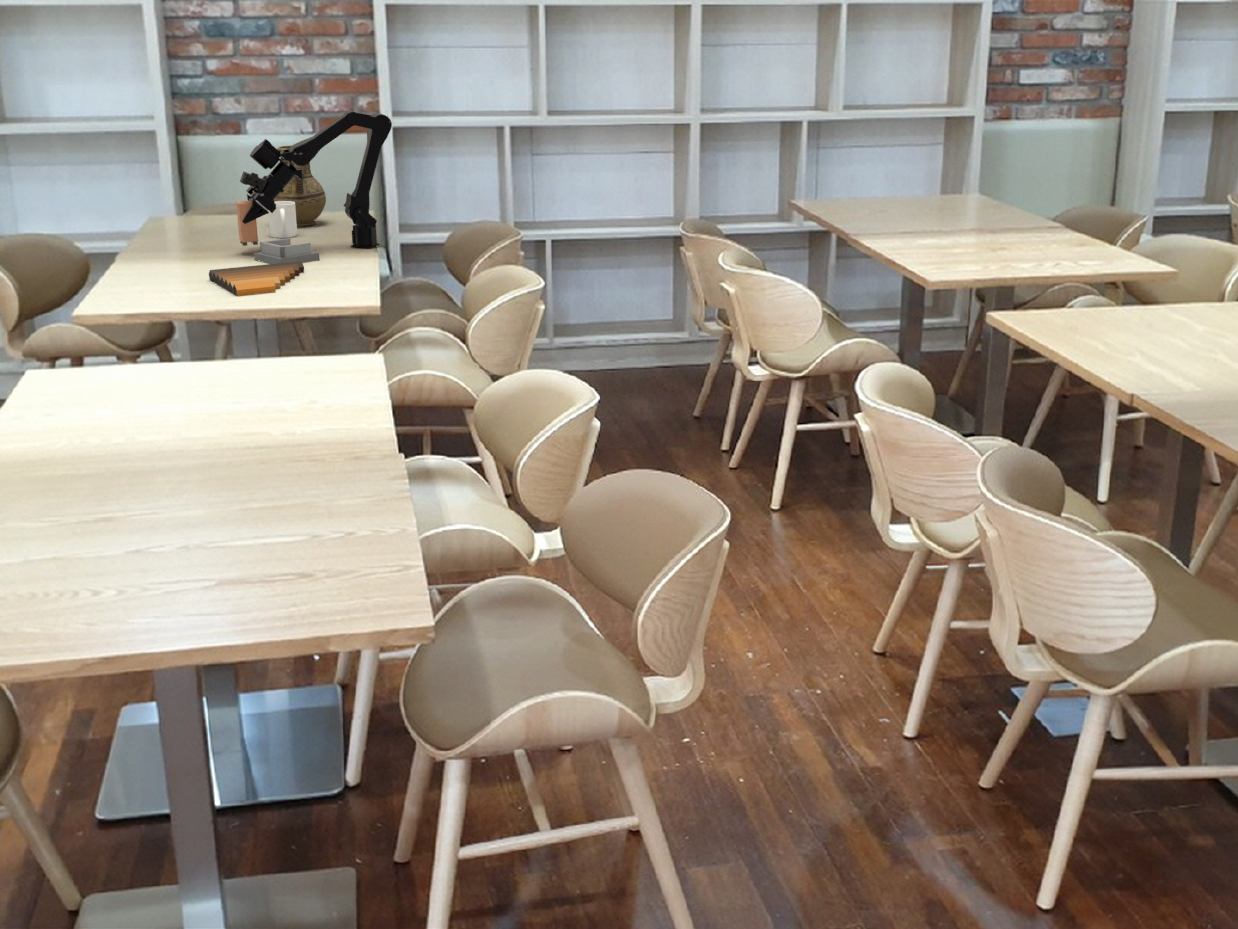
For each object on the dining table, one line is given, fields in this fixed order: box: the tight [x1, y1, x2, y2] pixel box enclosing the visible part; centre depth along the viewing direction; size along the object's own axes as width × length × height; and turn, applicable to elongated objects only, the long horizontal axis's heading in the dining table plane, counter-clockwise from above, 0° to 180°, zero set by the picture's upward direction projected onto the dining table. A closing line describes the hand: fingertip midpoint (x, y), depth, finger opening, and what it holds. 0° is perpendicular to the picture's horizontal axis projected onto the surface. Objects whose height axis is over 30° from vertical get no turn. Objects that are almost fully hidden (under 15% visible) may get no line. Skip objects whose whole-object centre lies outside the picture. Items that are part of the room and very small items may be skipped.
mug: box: [267, 201, 298, 239], centre depth 439 cm, size 12×8×10 cm
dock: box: [253, 238, 320, 264], centre depth 403 cm, size 13×13×5 cm
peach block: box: [235, 199, 259, 247], centre depth 410 cm, size 4×6×13 cm
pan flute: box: [208, 261, 305, 296], centre depth 373 cm, size 25×3×25 cm
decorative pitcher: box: [274, 145, 327, 227], centre depth 459 cm, size 22×18×25 cm
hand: (242, 221), depth 409 cm, fingers closed on peach block, 5 cm apart
